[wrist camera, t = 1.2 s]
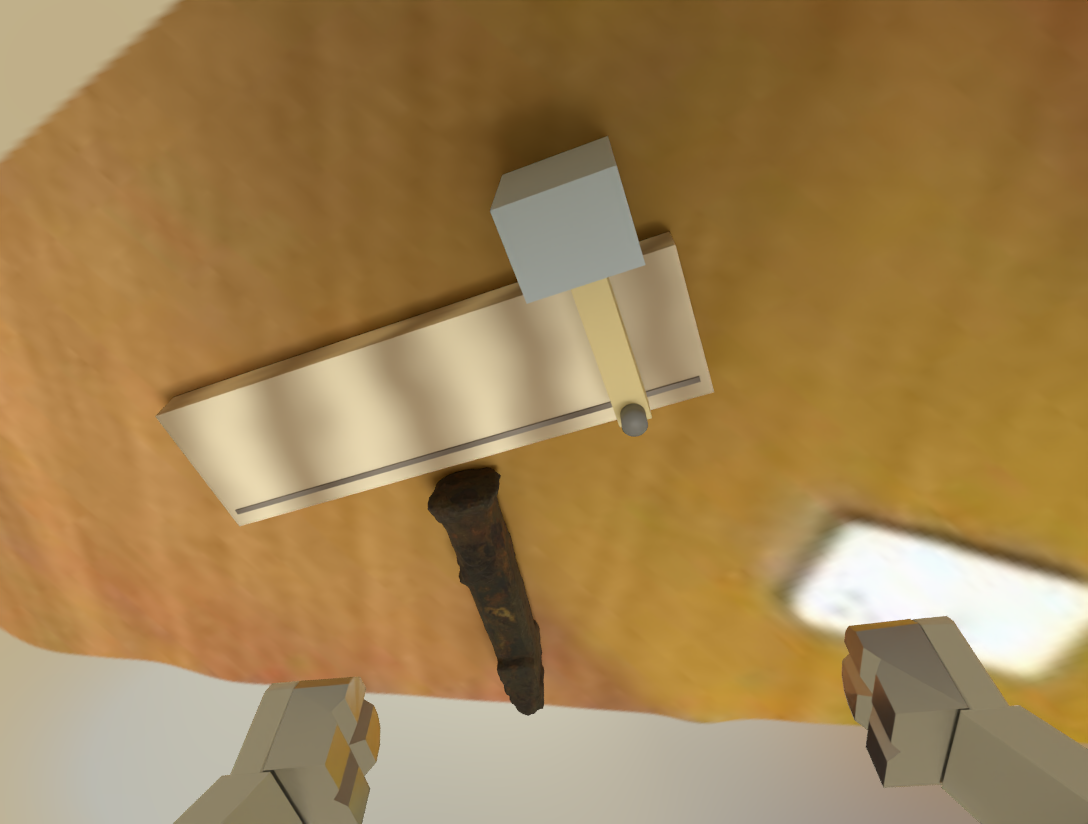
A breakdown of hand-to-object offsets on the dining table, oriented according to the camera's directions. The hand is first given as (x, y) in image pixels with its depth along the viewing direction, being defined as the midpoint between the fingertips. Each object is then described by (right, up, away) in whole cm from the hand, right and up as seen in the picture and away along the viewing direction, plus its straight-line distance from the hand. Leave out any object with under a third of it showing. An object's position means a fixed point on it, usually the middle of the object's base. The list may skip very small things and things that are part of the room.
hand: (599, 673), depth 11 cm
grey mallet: (+2, +11, +22) cm, 25 cm away
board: (-7, +6, +25) cm, 27 cm away
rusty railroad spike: (-3, -6, +33) cm, 34 cm away
